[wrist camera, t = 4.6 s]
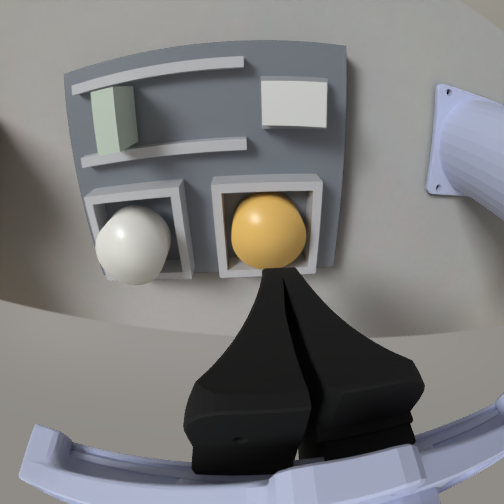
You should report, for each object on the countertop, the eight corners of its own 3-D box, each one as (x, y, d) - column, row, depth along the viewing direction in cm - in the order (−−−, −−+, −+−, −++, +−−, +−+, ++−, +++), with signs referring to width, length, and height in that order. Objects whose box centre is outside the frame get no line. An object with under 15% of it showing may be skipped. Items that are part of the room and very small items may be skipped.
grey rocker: (325, 82, 12) (326, 82, 11) (325, 125, 13) (326, 127, 13) (263, 81, 13) (261, 80, 12) (264, 123, 14) (262, 125, 13)
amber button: (301, 189, 17) (308, 202, 15) (298, 250, 19) (304, 268, 17) (230, 191, 16) (228, 205, 15) (234, 253, 19) (233, 271, 17)
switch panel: (337, 49, 14) (355, 42, 11) (327, 255, 21) (338, 279, 18) (75, 74, 13) (50, 74, 11) (111, 263, 21) (96, 287, 18)
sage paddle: (133, 86, 13) (112, 86, 11) (138, 141, 15) (120, 151, 12) (113, 90, 13) (90, 92, 11) (119, 144, 15) (98, 155, 12)
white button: (165, 202, 16) (156, 217, 14) (176, 264, 18) (170, 284, 16) (101, 208, 15) (87, 223, 14) (117, 266, 18) (106, 285, 16)
